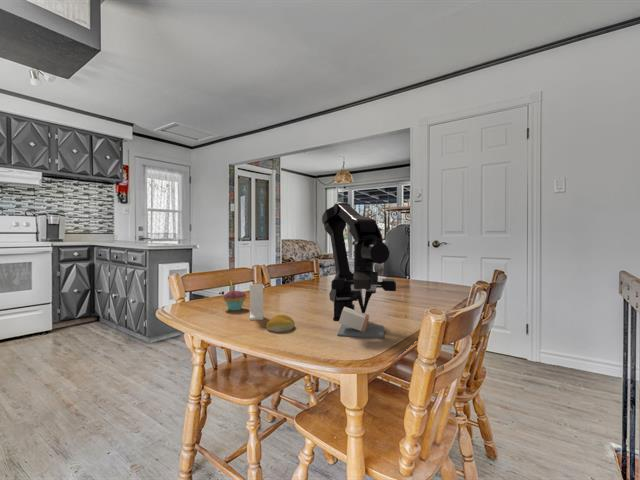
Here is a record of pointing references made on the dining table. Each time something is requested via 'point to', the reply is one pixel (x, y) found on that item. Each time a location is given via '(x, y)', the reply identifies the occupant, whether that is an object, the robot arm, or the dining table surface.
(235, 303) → the cupcake
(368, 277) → the robot arm
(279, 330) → the bread roll
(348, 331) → the rubber mat
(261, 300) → the light gray rectangular block
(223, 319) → the dining table surface
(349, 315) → the tall block
